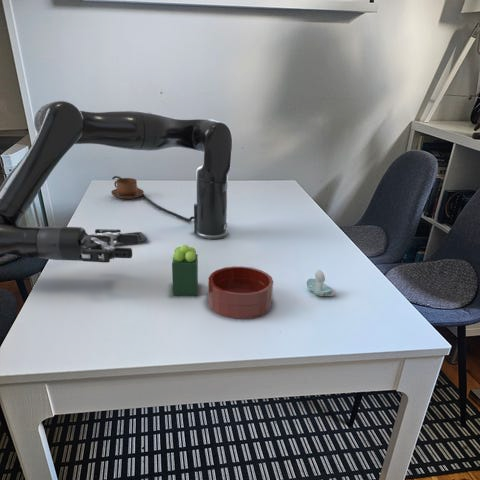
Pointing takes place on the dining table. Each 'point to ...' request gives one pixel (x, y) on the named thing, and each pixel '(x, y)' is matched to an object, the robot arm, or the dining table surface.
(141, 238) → the cell phone
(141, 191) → the cup and saucer
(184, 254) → the grapes
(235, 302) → the pot
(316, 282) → the pacifier
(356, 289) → the dining table surface
